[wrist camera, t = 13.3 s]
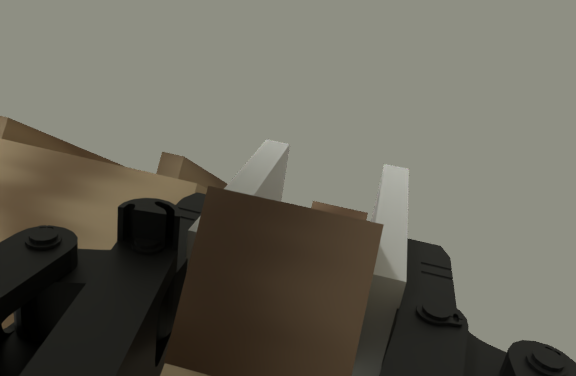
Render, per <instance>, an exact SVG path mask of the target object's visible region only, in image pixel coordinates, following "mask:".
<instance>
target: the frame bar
mask: <svg viewBox="0 0 576 376" xmlns="http://www.w3.org/2000/svg"><path fill="white" fill-rule="evenodd" d="M367 214H368V213H365V212H361V211H356V210H351V209H347V208H343V207H338V206H333V205H329V204H324V203H320V202H315V201H313V203H312V207H311V208H307V207H302V206H298V205H294V204H289V203H284V202H280V201H275V200H271V199H266V198H262V197H257V196H253V195H248V194H244V193H239V192H235V191H230V190H226V189H221V188H217V187H212V186H208V188H207V192H206V196H205V200H204V204H203V208H202V212H201V216H200V220H199V224H198V228H197V232H196V236H195V240H194V244H193V248H192V252H191V256H190V260H189V264H188V268H187V272H186V276H185V280H184V284H183V288H182V292H181V296H180V300H179V304H178V308H177V312H176V316H175V320H174V324H173V328H172V332H171V336H170V340H169V344H168V348H167V352H166V356H165V360H164V363H166V364H170V365H173V366H177V367H180V368H184V369H188V370H191V371H195V372H199V373H202V374H206V375H210V376H352V372H353V367H354V362H355V357H356V353H357V348H358V343H359V339H360V334H361V329H362V324H363V320H364V315H365V310H366V306H367V301H368V296H369V291H370V287H371V282H372V277H373V273H374V268H375V263H376V259H377V254H378V249H379V244H380V240H381V235H382V230H383V226H384V224H379V223H375V222H370V221H366V219H367Z"/></svg>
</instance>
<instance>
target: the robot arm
mask: <svg viewBox="0 0 576 376" xmlns="http://www.w3.org/2000/svg"><path fill="white" fill-rule="evenodd" d="M289 146H290V144H287V143H282V142H277V141H272V140H268V139H267V140H266V141H265V142H264V143H263V144H262V145H261V146H260V148H259V149H258V150H257V151H256V152H255V153H254V155H253V156H252V157H251V158H250V159H249V160H248V161H247V163H246V164H245V165H244V166H243V167H242V169H241V170H240V171H239V172H238V173H237V174H236V175H235V176H234V178H233V179H232V180H231V181H230V182H229V183H228V185H227V186H226V187H225V188H224V189H226V190H230V191H235V192H239V193H244V194H248V195H253V196H257V197H262V198H266V199H271V200H275V201H280V202H281V198H282V192H283V185H284V179H285V172H286V166H287V159H288V152H289ZM408 187H409V169H406V168H402V167H397V166H392V165H387V164H384V167H383V172H382V176H381V180H380V185H379V189H378V193H377V198H376V202H375V206H374V211H373V215H372V219H371V222H375V223H379V224H384V226H383V230H382V235H381V240H380V244H379V249H378V254H377V259H376V263H375V268H374V273H373V277H372V282H371V287H370V291H369V296H368V301H367V306H366V310H365V315H364V320H363V324H362V329H361V334H360V339H359V343H358V348H357V353H356V357H355V362H354V367H353V372H352V376H576V363H575V362H574V361H573V360H572V359H570V358H569V357H568V356H567V355H565V354H564V353H563V352H561V351H559V350H557V349H555V348H554V347H552V346H549V345H546V344H542V343H539V342H536V341H524V340H522V341H519V342H515V343H513V344H512V345H511V346H510V348H509V349H508V352H507V353H506V352H504V351H502V350H500V349H497V348H495V347H493V346H491V345H489V344H487V343H485V342H483V341H481V340H479V339H478V338H476V337H475V336H473V335H472V334H471V333H470V332H469V331H468V323H467V319H466V318H465V316H464V315H463V314H462V313H461V311H460V310H458V309H457V308H456V301H455V293H454V285H453V280H452V279H453V277H452V271H451V261H450V257H449V256H448V255H447V253H446V252H445V251H444V250H443V248H442V247H441V246H438V245H434V244H429V243H425V242H420V241H416V240H412V239H407V234H408V233H407V232H408ZM205 196H206V194H202V193H198V192H197V193H194V194H192V195H189V196H186V197H184V198H182V199H181V200H180V201H179V202H178V203H177V204H176V205H175V204H173V203H171V202H169V201H165V200H162V199H157V198H139V199H132V200H129V201H126V202H124V203H122V204H121V205H119V206H118V219H117V242H116V243H115V245H114V246H113V247H112V249H111V250H96V249H78V237H77V236H76V235H75V233H74V232H73V231H71V230H69V229H66V228H63V227H58V226H54V225H48V226H47V225H40V226H37V227H32V228H27V229H25V230H22V231H20V232H18V233H16V234H14V235H12V236H10V237H9V238H7V239H5V240H3V241H2V242H0V376H160V374H161V372H162V369H163V367H164V364H165V363H164V360H165V356H166V352H167V348H168V344H169V340H170V336H171V332H172V328H173V324H174V320H175V316H176V312H177V308H178V304H179V300H180V296H181V292H182V288H183V284H184V280H185V276H186V272H187V268H188V264H189V260H190V256H191V252H192V248H193V244H194V240H195V236H196V232H197V228H198V224H199V220H200V216H201V212H202V208H203V204H204V200H205ZM12 313H14V322H13V323H12V324H11V325H9V326H8V327H7V328H4V329H3V328H2V323H3V322H4V320H5V319H6V318H7V317H8V316H10V315H11V314H12Z"/></svg>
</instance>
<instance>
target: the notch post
mask: <svg viewBox="0 0 576 376" xmlns="http://www.w3.org/2000/svg"><path fill="white" fill-rule="evenodd" d="M227 185H228V184H227V183H225V182H224V181H222V180H220V179H219V178H217V177H216V176H214V175H212V174H211V173H209V172H208V171H206V170H204V169H203V168H201V167H200V166H198V165H196V164H195V163H193V162H192V161H190V160H188V159H187V158H185V157H183V156H179V155H174V154H170V153H165V152H162V155H161V158H160V162H159V166H158V170H157V173H156V174H153V173H150V172H145V171H141V170H136V169H132V168H128V167H124V166H122V165H120V164H118V163H115V162H113V161H110V160H108V159H106V158H103V157H101V156H98V155H96V154H94V153H91V152H89V151H87V150H84V149H81V148H79V147H77V146H74V145H72V144H70V143H67V142H65V141H63V140H60V139H58V138H55V137H53V136H51V135H48V134H46V133H43V132H41V131H39V130H36V129H34V128H31V127H29V126H27V125H24V124H22V123H20V122H17V121H15V120H12V119H10V118H7V117H2V116H0V242H2V241H3V240H5V239H7V238H9V237H10V236H12V235H14V234H16V233H18V232H20V231H22V230H25V229H27V228H32V227H37V226H40V225H47V226H48V225H54V226H58V227H63V228H66V229H69V230H71V231H73V232H74V233H75V235H76V236H77V237H78V249H96V250H111V249H112V247H113V246H114V245H115V243H116V242H117V219H118V206H119V205H121V204H122V203H124V202H126V201H129V200H132V199H139V198H157V199H162V200H165V201H169V202H171V203H173V204H175V205H176V204H177V203H178V202H179V201H180V200H181V199H182V198H184V197H186V196H189V195H192V194H194V193H197V192H198V193H202V194H206V192H207V188H208V186H212V187H217V188H221V189H224V188H225V187H226V186H227ZM13 322H14V313H12V314H11V315H10V316H8V317H7V318H6V319H5V320H4V322H3V323H2V328H3V329H4V328H7V327H8V326H9V325H11V324H12V323H13ZM160 376H210V375H206V374H202V373H199V372H195V371H191V370H188V369H184V368H180V367H177V366H173V365H170V364H166V363H165V364H164V367H163V369H162V372H161V374H160Z"/></svg>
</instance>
